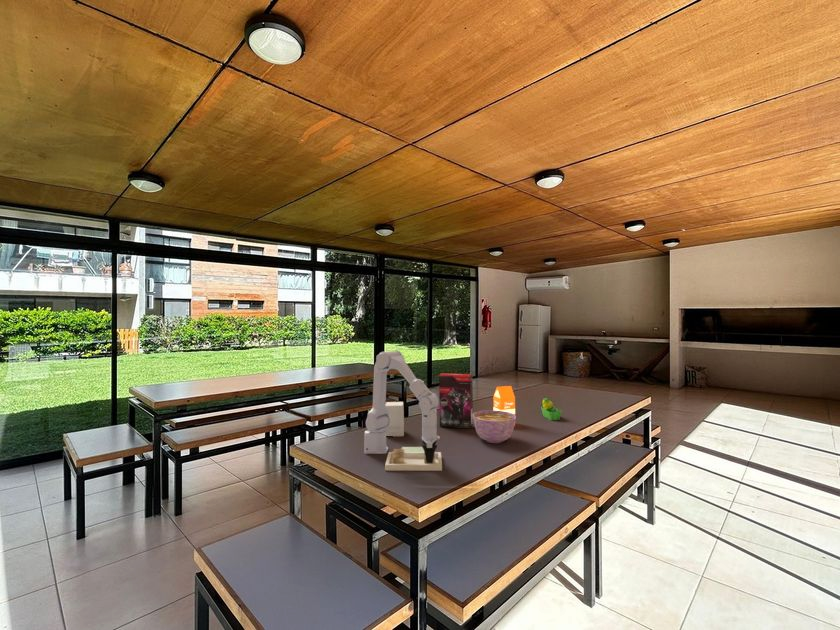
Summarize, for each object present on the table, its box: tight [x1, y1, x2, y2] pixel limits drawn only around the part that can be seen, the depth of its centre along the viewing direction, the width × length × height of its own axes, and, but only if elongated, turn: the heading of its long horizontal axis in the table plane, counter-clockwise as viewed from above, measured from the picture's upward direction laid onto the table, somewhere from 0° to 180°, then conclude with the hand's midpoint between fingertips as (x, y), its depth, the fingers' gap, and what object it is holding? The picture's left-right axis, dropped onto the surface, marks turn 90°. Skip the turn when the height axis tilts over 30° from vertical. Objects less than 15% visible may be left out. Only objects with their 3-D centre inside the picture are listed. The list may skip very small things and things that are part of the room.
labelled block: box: [424, 451, 436, 464], centre depth 154 cm, size 4×4×5 cm
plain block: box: [392, 448, 404, 464], centre depth 154 cm, size 4×4×5 cm
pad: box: [401, 446, 424, 452], centre depth 168 cm, size 12×10×1 cm
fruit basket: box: [540, 397, 563, 421], centre depth 223 cm, size 11×9×11 cm
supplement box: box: [385, 401, 405, 437], centre depth 194 cm, size 9×9×15 cm
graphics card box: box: [438, 372, 474, 429], centre depth 207 cm, size 17×7×27 cm, turn 73°
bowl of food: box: [472, 409, 517, 444], centre depth 183 cm, size 20×20×12 cm
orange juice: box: [492, 385, 516, 416], centre depth 211 cm, size 8×9×20 cm
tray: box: [384, 451, 443, 472], centre depth 154 cm, size 21×14×2 cm, turn 89°
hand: (429, 460), depth 154 cm, fingers closed on labelled block, 4 cm apart
